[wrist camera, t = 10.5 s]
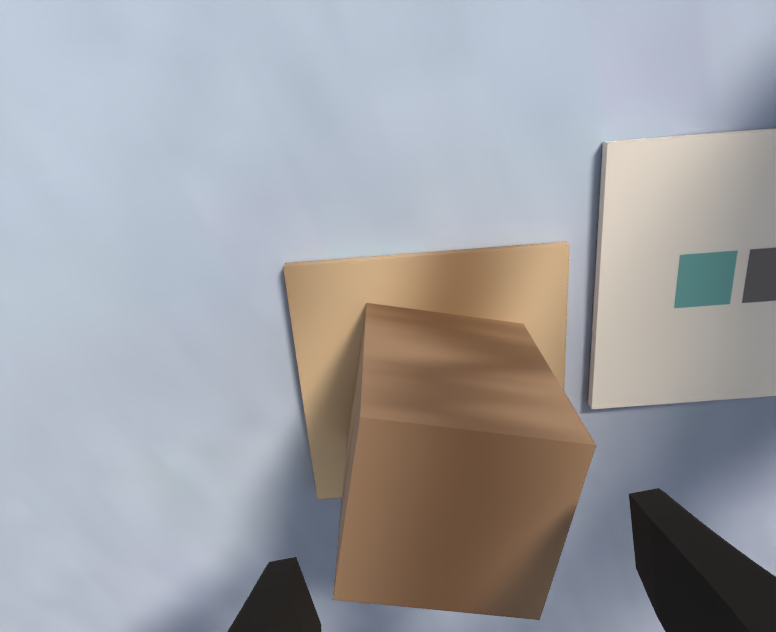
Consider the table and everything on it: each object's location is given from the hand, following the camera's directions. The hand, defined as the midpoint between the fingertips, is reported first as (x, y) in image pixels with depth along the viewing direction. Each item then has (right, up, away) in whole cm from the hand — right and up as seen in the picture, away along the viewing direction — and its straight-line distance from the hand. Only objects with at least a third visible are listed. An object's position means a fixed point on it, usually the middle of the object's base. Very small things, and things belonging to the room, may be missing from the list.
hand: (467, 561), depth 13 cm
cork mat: (0, +3, +8) cm, 9 cm away
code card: (+10, +7, +7) cm, 13 cm away
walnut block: (0, +3, +8) cm, 8 cm away
